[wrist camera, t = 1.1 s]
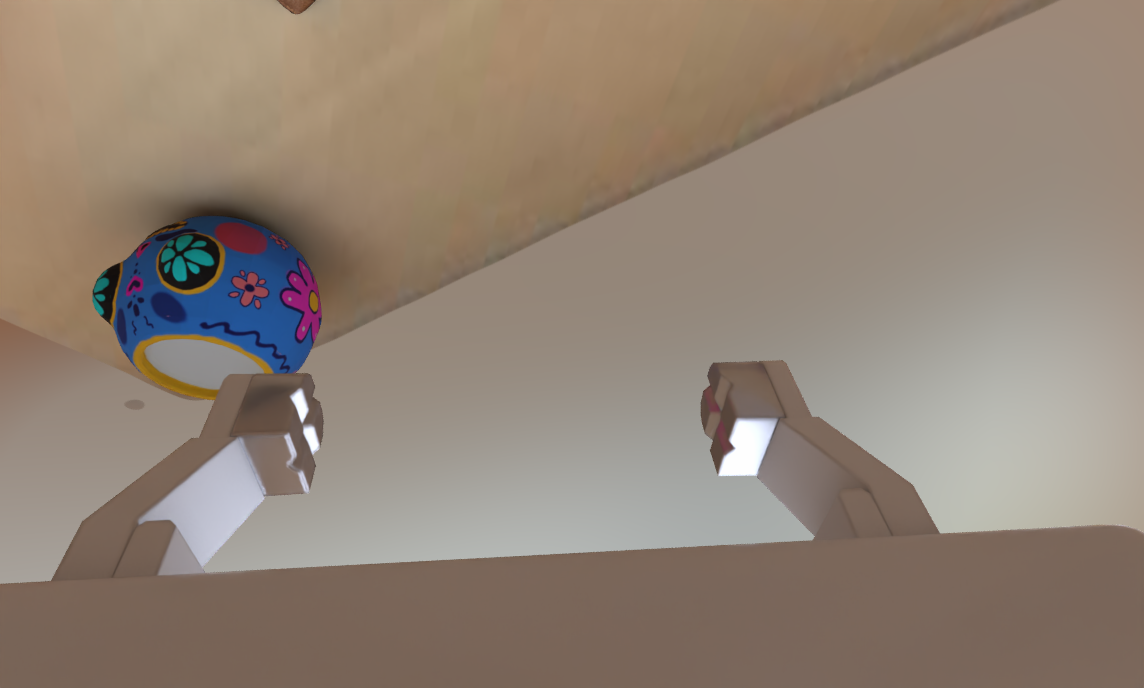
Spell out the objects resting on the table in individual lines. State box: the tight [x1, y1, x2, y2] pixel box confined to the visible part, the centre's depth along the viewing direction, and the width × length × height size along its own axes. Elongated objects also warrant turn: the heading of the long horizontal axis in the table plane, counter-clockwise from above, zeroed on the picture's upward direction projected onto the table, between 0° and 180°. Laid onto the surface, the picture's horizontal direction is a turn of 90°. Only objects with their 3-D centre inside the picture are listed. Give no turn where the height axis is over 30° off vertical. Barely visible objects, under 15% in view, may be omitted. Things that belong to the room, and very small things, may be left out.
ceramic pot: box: [93, 216, 322, 400], centre depth 64 cm, size 18×18×15 cm
